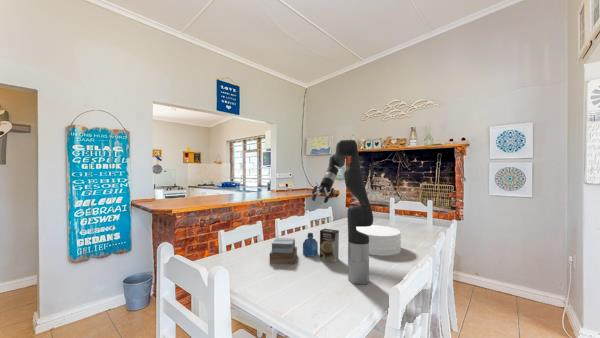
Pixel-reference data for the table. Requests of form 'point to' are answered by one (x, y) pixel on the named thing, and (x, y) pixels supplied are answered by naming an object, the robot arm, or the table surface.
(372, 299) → the table surface
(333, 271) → the table surface
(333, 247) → the coffee box
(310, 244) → the perfume bottle
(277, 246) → the two-tone square pedestal
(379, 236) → the white short wide cylinder
